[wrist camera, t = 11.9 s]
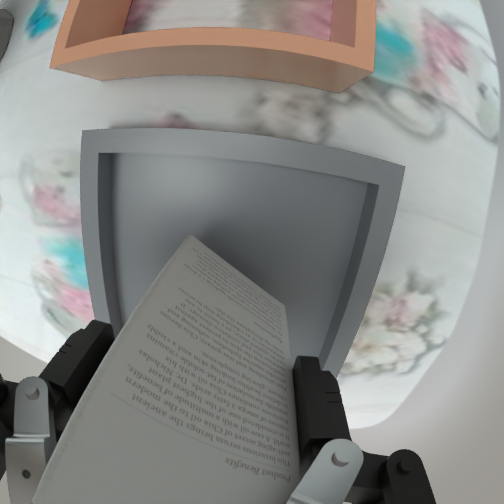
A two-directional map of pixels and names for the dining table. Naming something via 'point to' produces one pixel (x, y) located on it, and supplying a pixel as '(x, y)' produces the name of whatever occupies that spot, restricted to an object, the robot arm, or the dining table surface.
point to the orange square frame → (216, 48)
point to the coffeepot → (5, 30)
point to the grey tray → (239, 222)
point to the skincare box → (186, 399)
